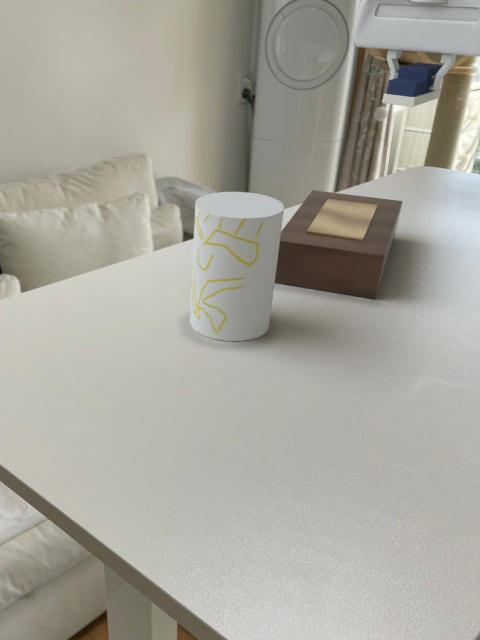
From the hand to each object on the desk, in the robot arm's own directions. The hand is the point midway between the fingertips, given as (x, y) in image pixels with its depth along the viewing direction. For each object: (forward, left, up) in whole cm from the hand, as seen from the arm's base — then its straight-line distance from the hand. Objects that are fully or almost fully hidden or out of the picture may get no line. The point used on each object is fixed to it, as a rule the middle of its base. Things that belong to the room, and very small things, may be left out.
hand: (414, 87), depth 95 cm
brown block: (+14, +27, -16) cm, 35 cm away
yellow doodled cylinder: (+29, +46, -16) cm, 57 cm away
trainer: (0, 0, -2) cm, 2 cm away
